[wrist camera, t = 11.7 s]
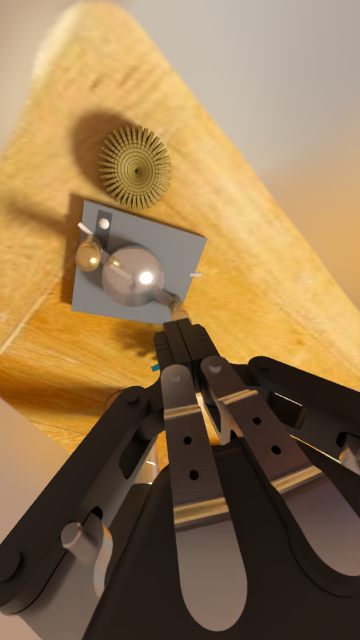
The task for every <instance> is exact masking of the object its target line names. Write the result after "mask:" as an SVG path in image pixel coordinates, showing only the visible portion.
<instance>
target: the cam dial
mask: <svg viewBox="0 0 360 640" xmlns="http://www.w3.org/2000/svg"><path fill="white" fill-rule="evenodd" d="M99 261H100V262H101V263H103V264H104V265H103V271H102V284H103V287H104V290H105V292H106V293H107V294H108V296H109V297H110V298H111V299H112V300H114V301H115V302H117V303H119V304H121V305H124V306H128V307H139V306H143V305H146V304H148V303H150V302H152V301H153V300H154V299H157V300H158V301H160V302H161V303H163V304H164V305H166V306H167V307H168V308H169V311H170V314H171V317H172V320H173V321H174V320H175V321H176V320H178V319H183V318H189V320H190V322H191V324H192V320H191V318H190V316H189V314H188V312H187V310H186V307H185V305H184V303H183V301H182V299H181V297H179V296H177V295H174V296H170V295H169V294H168V293H166V292H165V291H163V290H162V288H163V285H164V272H163V269H162V266H161V264H160V262H159V260H158V258H157V256H156V255H155V254H154V253H153V252H152V251H151V250H149V249H148V248H146V247H144V246H141V245H137V244H127V245H122V246H120V247H118V248H116V249H114V250H113V251H112V252H111V253H110V252H108V251H107V250H106V249H104V248H103V247H102V242H101V240H100V239H99V238H98V237H96V236H94V235H88V236H86V237H85V238H84V239H83V241H82V243H81V245H80V247H79V249H78V251H77V253H76V255H75V263H76V265H77V266H78V267H79V268H80V269H81V270H83V271H88V272H89V271H93V270H95V269H96V268H97V267H98V265H99Z"/></svg>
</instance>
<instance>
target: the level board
mask: <svg viewBox="0 0 360 640" xmlns="http://www.w3.org/2000/svg"><path fill="white" fill-rule="evenodd" d="M78 226H79V227H80V228H81V232H80V240H79V247H80V245H81V243H82V241H83V239H84V238H85V237H86V236H88V235H94V236H96V237H98V238H99V239H100V240H101V242H102V247H103V248H104V249H106V250H107V251H108V252H110V253H111V252H112V251H113V250H114V249H116V248H118V247H120V246H122V245H127V244H137V245H141V246H144V247H146V248H148V249H149V250H151V251H152V252H153V253H154V254H155V255H156V256H157V258H158V260H159V262H160V264H161V266H162V269H163V272H164V285H163V288H162V290H163V291H165V292H166V293H168V294H169V295H170V296H174V295H177V296H179V297H181V299H182V301H183V302H184V300H185V297H186V294H187V292H188V289H189V286H190V284H191V281H192V278H193V276H202V273H195V270H196V268H197V265H198V262H199V259H200V257H201V254H202V251H203V249H204V246H205V243H206V241H207V239H206V238H205V237H204V236H201V235H198V234H195V233H192V232H189V231H185V230H182V229H179V228H176V227H173V226H170V225H167V224H163V223H160V222H157V221H154V220H151V219H148V218H145V217H141V216H138V215H135V214H132V213H129V212H126V211H123V210H119V209H116V208H113V207H110V206H107V205H104V204H101V203H97V202H94V201H91V200H88V199H85V200H84V207H83V215H82V223H81V222H80V223H79V224H78ZM103 265H104V264H103V263H101V262H100V261H99V265H98V267H97V268H96V269H95V270H93V271H89V272H88V271H83V270H81V269H80V268H79V267H78V266H77V265H76V274H75V282H74V290H73V299H72V307H71V311H77V312H83V313H90V314H96V315H102V316H108V317H114V318H120V319H127V320H133V321H139V322H145V323H151V324H158V325H163V323H164V322H169V321H173V320H172V317H171V314H170V311H169V308H168V307H167V306H166V305H164V304H163V303H161V302H160V301H158V300H157V299H154V300H153V301H152V302H150V303H148V304H146V305H143V306H139V307H128V306H124V305H121V304H119V303H117V302H115V301H114V300H112V299H111V298H110V297H109V296H108V294H107V293H106V292H105V290H104V287H103V284H102V271H103Z"/></svg>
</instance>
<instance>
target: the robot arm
mask: <svg viewBox="0 0 360 640" xmlns="http://www.w3.org/2000/svg"><path fill="white" fill-rule="evenodd" d="M163 328H164V331H163V332H158V333H156V334H155V337H154V339H153V340H154V345H155V349H156V354H157V359H158V364H159V368H160V377H159V379H158V380H157V381H156V382H155V383H154V384H153V385H151V386H149V387H148V388H146V389H145V388H143V387H141V386H131V387H128V388H126V389H125V390H123V391H121V392H118V393H116V394H114V395H113V396H111V397H110V398H109V399H108V401H107V403H106V412H105V413H104V414H103V415H102V417H101V418H100V419H99V420H98V422H97V423H96V424H95V426H94V427H93V428H92V429H91V431H90V432H89V433H88V434H87V436H86V437H85V438H84V439H83V441H82V442H81V443H80V444H79V446H78V447H77V448H76V450H75V451H74V452H73V453H72V455H71V456H70V457H69V458H68V460H67V461H66V462H65V463H64V465H63V466H62V467H61V468H60V470H59V471H58V472H57V474H56V475H55V476H54V477H53V479H52V480H51V481H50V482H49V484H48V485H47V486H46V487H45V489H44V490H43V491H42V492H41V494H40V495H39V496H38V498H37V499H36V500H35V501H34V503H33V504H32V505H31V506H30V508H29V509H28V510H27V511H26V513H25V514H24V515H23V516H22V518H21V519H20V520H19V521H18V523H17V524H16V525H15V527H14V528H13V529H12V530H11V532H10V533H9V534H8V535H7V537H6V538H5V539H4V540H3V542H2V543H1V544H0V612H1V613H2V614H4V615H6V616H10V617H14V618H18V619H22V620H24V621H25V622H26V623H27V624H28V625H29V626H30V627H31V628H32V630H33V631H34V632H35V633H36V634H37V635H38V636H39V637H40V638H41V639H42V640H360V392H358V391H355V390H353V389H350V388H347V387H345V386H342V385H339V384H337V383H334V382H332V381H329V380H326V379H324V378H321V377H319V376H316V375H313V374H311V373H308V372H305V371H303V370H300V369H298V368H295V367H292V366H290V365H287V364H285V363H282V362H279V361H277V360H274V359H271V358H269V357H265V356H257V357H254V358H252V359H250V360H249V362H248V364H232V363H229V362H228V360H226V359H225V358H223V357H221V356H220V354H219V353H218V351H217V349H216V347H215V346H214V344H213V342H212V340H211V339H210V337H209V335H208V333H207V331H206V329H205V328H204V327H202V326H201V325H199V324H195V325H192V324H191V322H190V320H189V318H183V319H178V320H176V321H175V320H174V321H169V322H164V323H163ZM199 392H201V394H202V397H203V405H204V408H205V410H206V412H207V414H208V416H209V418H210V420H211V422H212V425H213V427H214V429H215V431H216V433H217V435H218V438H219V440H220V444H221V445H212V446H211V445H210V441H209V437H208V433H207V430H206V426H205V422H204V418H203V414H202V411H201V408H200V406H199V405H198V402H197V398H196V394H195V393H199ZM275 393H277V394H279V395H281V396H284V397H286V398H288V399H290V400H292V401H294V402H297V403H299V404H301V405H302V406H300V405H298V404H296V403H294V402H292V401H289V400H287V399H285V398H283V397H281V396H279V395H276V394H275ZM164 430H165V432H166V442H167V451H168V461H169V464H168V465H167V466H166V467H164V468H163V469H162V470H161V472H160V470H159V462H158V455H157V447H156V440H157V437H158V434H159V433H161V432H162V431H164ZM290 434H291V435H293V436H294V437H296V438H298V439H300V440H302V441H304V442H306V443H307V444H309V445H311V446H313V447H315V448H317V449H318V450H320V451H322V452H324V453H326V454H328V455H330V456H331V457H333V458H335V459H337V460H339V461H340V462H341V464H342V465H341V464H340V463H338V462H336V461H335V460H333V459H331V458H329V457H328V456H326V455H324V454H322V453H321V452H319V451H317V450H315V449H314V448H312V447H310V446H309V445H307V444H305V443H303V442H302V441H300V440H298V439H296V438H293V437H291V435H290Z"/></svg>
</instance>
